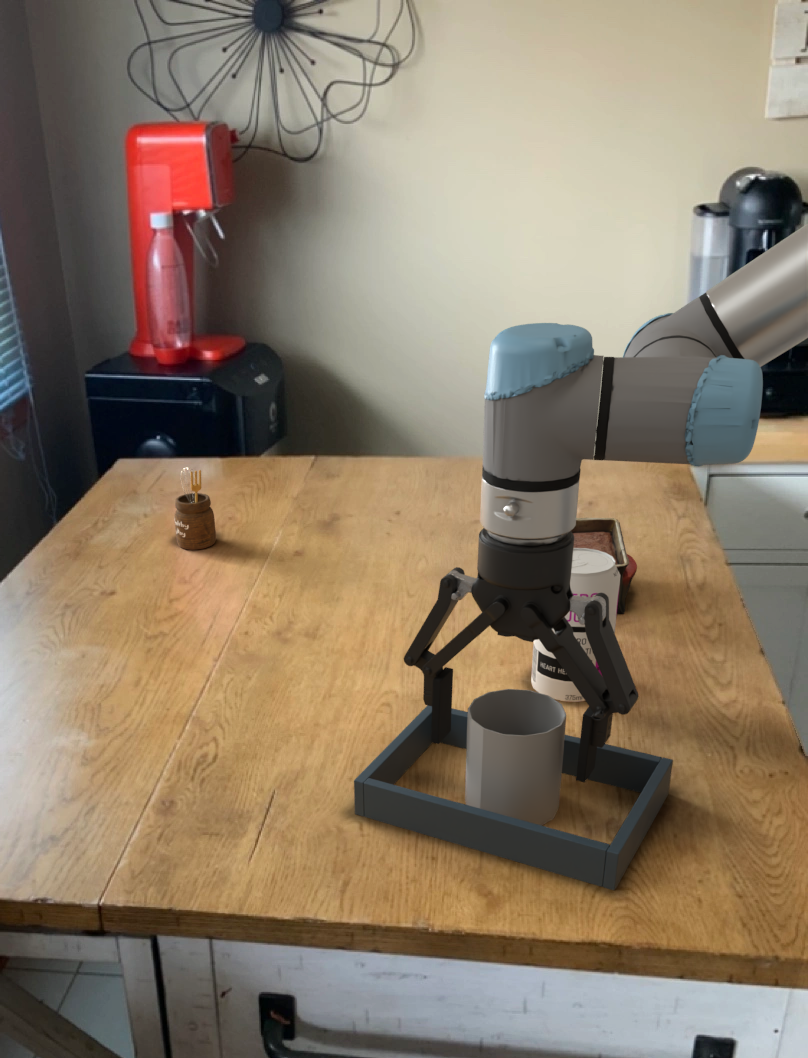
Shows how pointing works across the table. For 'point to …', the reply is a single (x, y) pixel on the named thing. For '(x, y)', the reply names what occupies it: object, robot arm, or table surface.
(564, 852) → the dark grey open frame
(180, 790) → the table surface
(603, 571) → the supplement can
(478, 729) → the cup
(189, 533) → the utensil holder
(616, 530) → the baking dish
